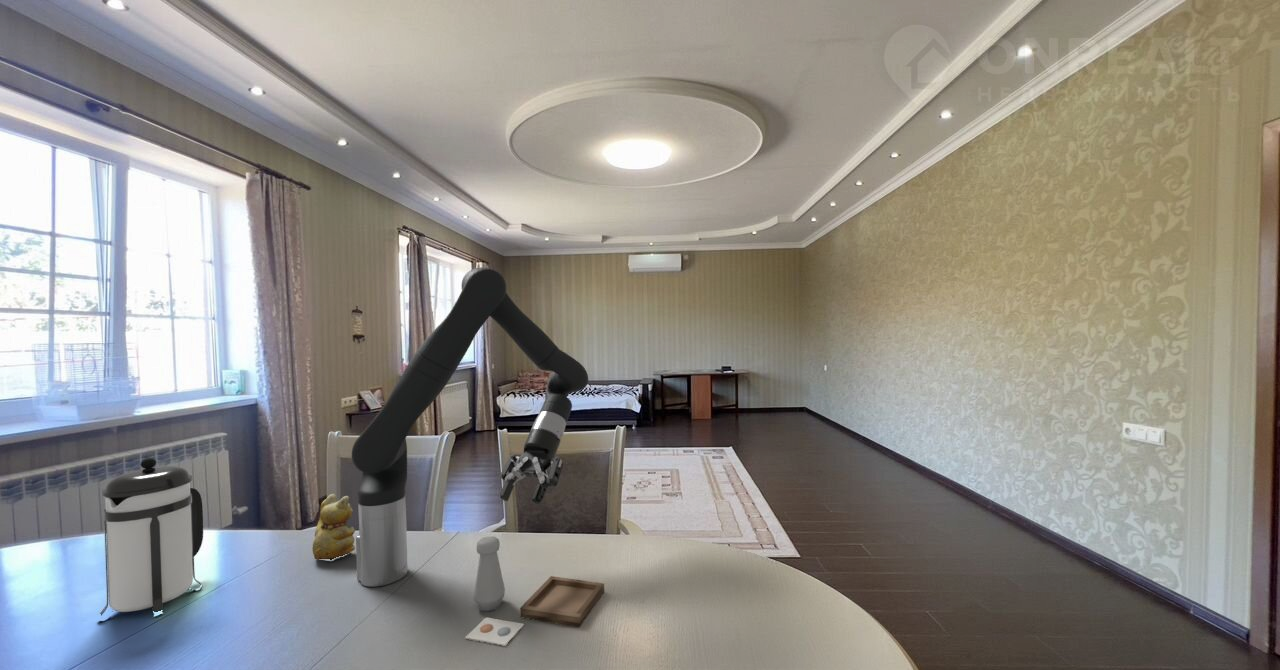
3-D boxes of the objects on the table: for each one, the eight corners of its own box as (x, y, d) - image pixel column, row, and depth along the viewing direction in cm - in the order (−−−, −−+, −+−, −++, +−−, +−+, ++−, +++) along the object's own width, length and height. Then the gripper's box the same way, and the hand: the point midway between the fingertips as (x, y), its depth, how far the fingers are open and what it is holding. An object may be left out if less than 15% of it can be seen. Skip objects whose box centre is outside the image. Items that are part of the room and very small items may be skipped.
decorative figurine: (363, 552, 119) (361, 491, 119) (334, 568, 111) (332, 503, 111) (330, 549, 121) (329, 490, 121) (301, 564, 113) (298, 501, 113)
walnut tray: (520, 617, 89) (520, 607, 89) (551, 584, 100) (550, 576, 100) (579, 627, 85) (579, 617, 85) (604, 592, 97) (604, 583, 97)
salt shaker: (495, 615, 90) (493, 546, 90) (468, 613, 91) (466, 544, 91) (510, 598, 95) (508, 533, 95) (484, 596, 97) (482, 532, 97)
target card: (465, 638, 83) (465, 636, 83) (486, 618, 89) (486, 616, 89) (505, 646, 81) (505, 643, 81) (524, 625, 86) (524, 622, 86)
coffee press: (213, 599, 99) (208, 454, 98) (96, 637, 87) (90, 472, 87) (204, 572, 110) (200, 443, 110) (100, 602, 99) (95, 457, 99)
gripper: (513, 426, 114) (483, 491, 104) (564, 427, 108) (537, 496, 98) (529, 442, 119) (502, 505, 108) (578, 444, 113) (554, 511, 103)
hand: (519, 501), depth 103 cm, fingers open, 8 cm apart
